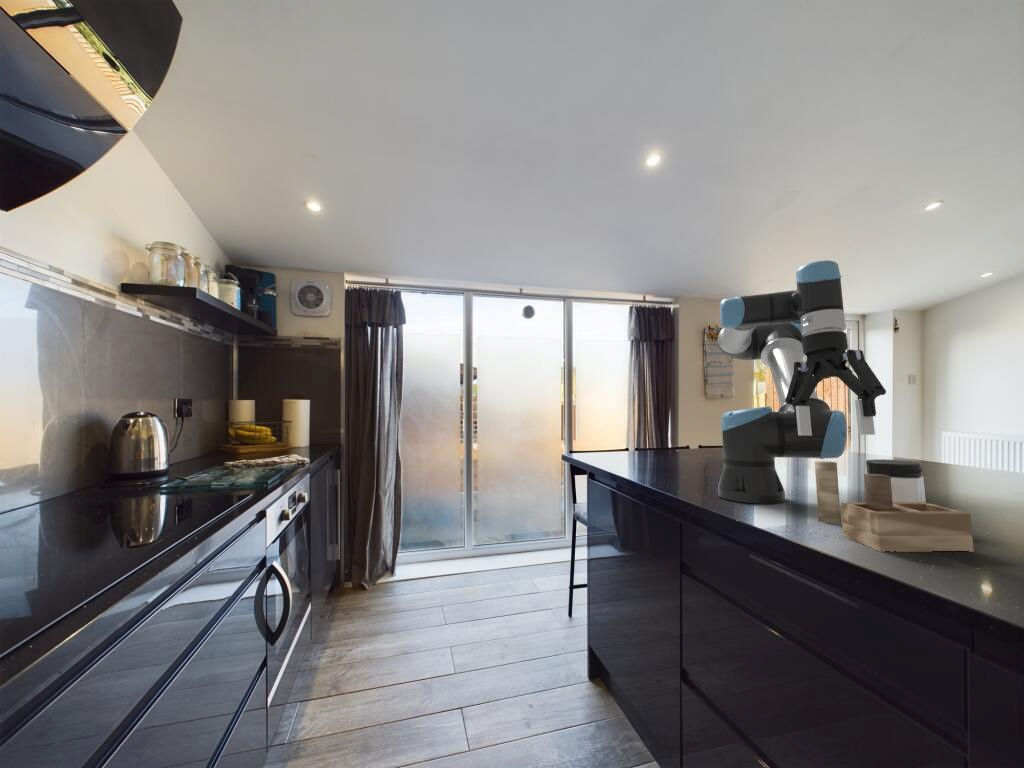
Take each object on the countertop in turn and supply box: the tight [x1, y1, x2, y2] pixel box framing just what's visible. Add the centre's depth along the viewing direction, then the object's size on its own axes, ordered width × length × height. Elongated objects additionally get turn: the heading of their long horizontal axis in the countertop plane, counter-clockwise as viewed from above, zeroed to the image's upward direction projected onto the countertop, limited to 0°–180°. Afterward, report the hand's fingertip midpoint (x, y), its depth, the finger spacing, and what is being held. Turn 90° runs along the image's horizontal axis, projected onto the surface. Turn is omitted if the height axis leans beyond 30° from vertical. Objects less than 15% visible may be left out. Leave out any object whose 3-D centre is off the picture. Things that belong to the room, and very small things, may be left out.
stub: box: [863, 473, 893, 512], centre depth 69 cm, size 3×3×9 cm
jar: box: [865, 458, 927, 503], centre depth 81 cm, size 9×8×12 cm
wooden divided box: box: [840, 501, 975, 553], centre depth 69 cm, size 8×14×6 cm, turn 86°
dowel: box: [814, 460, 842, 525], centre depth 83 cm, size 4×4×12 cm
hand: (833, 435), depth 83 cm, fingers open, 13 cm apart
